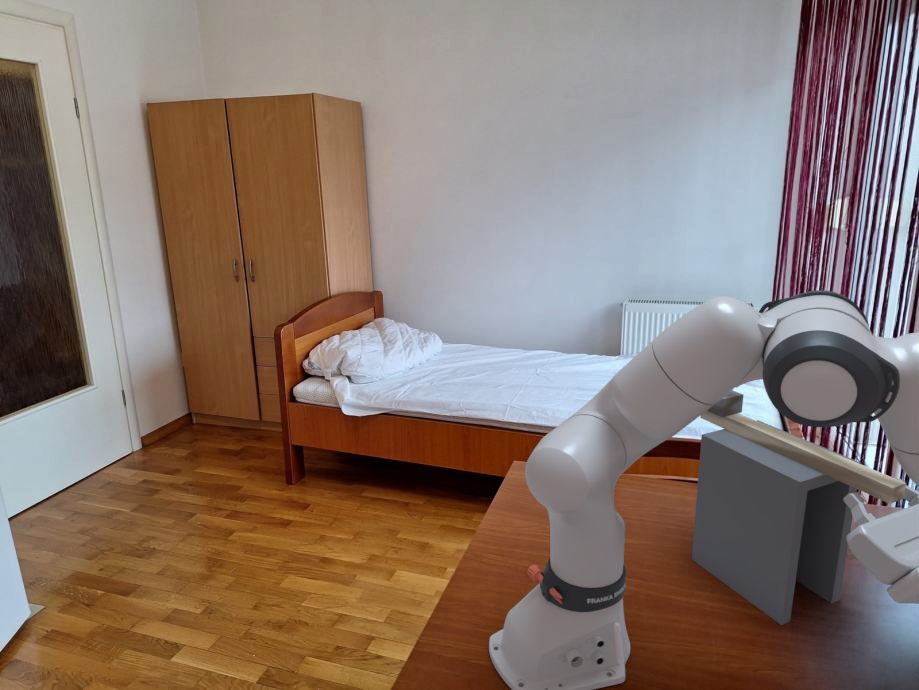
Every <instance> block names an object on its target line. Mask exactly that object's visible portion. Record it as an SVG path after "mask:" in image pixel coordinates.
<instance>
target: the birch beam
mask: <svg viewBox="0 0 919 690" xmlns="http://www.w3.org/2000/svg"><path fill="white" fill-rule="evenodd" d="M743 403H744V394H743V393H741V392H737V391H735V390H734V389H733V390H732V391H730V392H729V393H728V394H727V395H726V396H725V397H723V398H722V399H721V400H720V401H718V402H717V403H716V404H715V405H713V406H712V407H711V408H709V409H708V410H707V411H705V412H704V413H703V414H701V415H700V416H699V417H700V419H702V420H705V421H706V422H709V423H710V424H712V425H715V426H718V427H719V428H722V429H726V430H728V431H730V432H733V433H735V434H737V435H739V436H741V437H744V438H746V439H748V440H750V441H752V442H755V443H757V444H759V445H761V446H763V447H766V448H768V449H770V450H772V451H774V452H777V453H779V454H781V455H783V456H786V457H788V458H790V459H792V460H794V461H797V462H799V463H801V464H803V465H805V466H808V467H810V468H812V469H814V470H816V471H819V472H821V473H823V474H825V475H827V476H830V477H832V478H834V479H836V480H838V481H841V482H843V483H845V484H847V485H849V486H852V487H854V488H856V489H857V490H858V491H861V492H863V493H865V494H867V495H870V496H872V497H874V498H876V499H878V500H879V501H883V502H884V503H887V504H893V503H897V502H899V501H902V500H904V493H905V487H906V485H907V482H904V481H903V480H902V481H903V482H902V481H900V480H897V479H895V478H896V477H893V476H889V475H887V474H885V473H882V472H880V471H878V470H875V469H874V468H870V467H868V466H866V465H863V464H862V463H861V464H859V463H856V462H854V461H852V460H849V459H847V458H844V457H842V456H839V455H837V454H835V453H832V452H830V451H827V450H825V449H823V448H820V447H818V446H815V445H813V444H811V443H808V442H806V441H803V440H801V439H799V438H796V437H794V436H791V435H789V434H787V433H784V432H782V431H779V430H777V429H775V428H772V427H770V426H767V425H765V424H762V423H760V422H758V421H757V420H755V419H752V418H750V417H747V416H746V415H743V414H742V412H743Z"/></svg>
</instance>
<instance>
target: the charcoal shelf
mask: <svg viewBox="0 0 919 690" xmlns="http://www.w3.org/2000/svg"><path fill="white" fill-rule="evenodd" d="M756 421H758V422H760V423H762V424H765V425H767V426H770V427H772V428H775V429H777V430H779V431H782V432H784V433H787V434H789V435H791V436H794V437H796V438H799V439H801V440H803V441H806V442H808V443H811V444H813V445H815V446H818V447H820V448H823V449H825V450H827V451H830V452H832V453H835V454H837V455H839V456H842V457H844V458H847V459H849V460H852V461H854V462H856V463H859V464H861V465H862V462H860V461H858V460H855V459H853V458H850V457H847V456H846V455H843V454H841V453H838V452H835V451H833V450H831V449H829V448H826V447H824V446H821V445H819V444H818V443H814V442H812V441H809V440H807V439H805V438H802V437H800V436H797V435H795V434H792V433H790V432H788V431H785V430H783V429H780V428H777V427H775V426H773V425H770V424H769V423H766V422H763V421H761V420H756ZM700 439H701V440H700V452H699V465H698V476H697V477H698V478H697V487H696V501H695V502H696V503H695V511H694V512H695V513H694V529H693V540H692V549H691V550H692V551H691V560H692V561H693V562H695V563H696V564H697V565H699V566H700V567H701V568H702V569H704V570H705V571H707V572H708V573H709V574H711V575H712V576H713V577H715V578H716V579H718V580H719V581H720V582H722V584H725V585H726V586H728V588H730V589H732V590H733V591H734V592H735V593H737V594H738V595H740V596H741V597H742V598H744V600H746V601H748V602H749V603H750V604H752V606H755V607H756V608H757V609H758V610H760V611H761V612H762V613H764V614H765V615H767V616H768V617H769V618H771V619H772V620H774V621H775V622H777V623H778V624H779V625H780V626H783V625H785V624H787V623H790V622H791V617H792V610H793V603H794V595H795V587H796V582H797V583H799V584H800V585H803V586H804V587H805V588H807V589H808V590H810V591H812V592H813V593H815V594H816V595H818V596H819V597H820V598H822V599H823V600H826V601H827V602H829V603H830V604H834V603H835V602H839V601H840V597H841V592H842V585H843V579H844V573H845V568H846V567H845V566H846V559H847V554H848V548H849V547H848V544H847V539H846V536H847V535H848V534H849V533H850V532H851V529H852V523H853V516H852V513H851V509H850V508H849V507H848V506H847V504H846V503H845V502H844V500H843V499H844V497H845V496H847V495H848V494H850V493H853V492H857V490H858V489H856V488H854V487H852V486H849V485H847V484H845V483H843V482H841V481H838V480H836V479H834V478H832V477H830V476H827V475H825V474H823V473H821V472H819V471H816V470H814V469H812V468H810V467H808V466H805V465H803V464H801V463H799V462H797V461H794V460H792V459H790V458H788V457H786V456H783V455H781V454H779V453H777V452H774V451H772V450H770V449H768V448H766V447H763V446H761V445H759V444H757V443H755V442H752V441H750V440H748V439H746V438H744V437H741V436H739V435H737V434H735V433H733V432H730V431H728V430H726V429H724V428H722V429H718V430H714V431H711V432H707V433H703V434H701V437H700ZM857 493H858V492H857Z"/></svg>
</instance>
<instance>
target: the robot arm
mask: <svg viewBox="0 0 919 690" xmlns="http://www.w3.org/2000/svg"><path fill="white" fill-rule="evenodd" d="M759 380H762V382H763V386H764V390H765V392H766V395H767V397H768V399H769V400H770V402H771V404H772V405H773V407H774V408H775V410H777V412H779V413H780V414H781V415H782V416H783V417H785V418H786V419H787V420H790V421H791V422H793V423H796V424H798V425H801V426H806V427H812V428H834V427H840V426H844V425H849V424H851V423H871V422H874V421H875V420H877V421H878V422H879V424H880V425H881V429H882V431H883V433H884V434H885V438H886V439H887V441H888V444H889V446H890V448H891V450H892V452H893V454H894V457H895V458H896V460H897V462H898V464H899V466H901V468H902V470H903V471H904V472H905V474H906V475H907V476H908V478H909V479H910V480H911V482H913V483H914V484H915V485H916V486H918V487H919V331H918V332H912V333H906V334H903V335H900V336H897V337H882V336H878V335H873V333H872V330H871V329H870V324H869V321H868V318H867V316H866V315H865V313H864V311H863V310H862V309H861V308H860V307H859V306H858V305H857V303H855V302H854V301H853V300H852V299H850V298H849V297H847V296H845V295H843V294H840V293H838V292H835V291H832V290H822V289H821V290H820V289H819V290H811V291H805V292H802V293H799V294H796V295H793V296H790V297H785V298H780V299H777V300H772V301H768V302H765V303H764V304H763V305H762V306H761V308H760V309H759V310H757V309H755V308H754V307H753V306H752V305H750V304H749V303H747V302H746V301H743V300H741V299H740V298H739V299H738V298H737V297H735V296H729V295H728V296H727V295H721V296H720V295H718V296H715V297H712V298H709V299H707V300H706V301H704V302H703V303H700V304H699V305H697V306H696V307H694V308H693V309H691V310H689V311H687V313H685V314H683V315H682V316H681V317H680V318H678V319H677V320H675V321H674V322H672V324H670V325H669V326H667V327H666V328H665V329H664V330H663V331H662V332H660V333H659V334H658V335H657V336H656V337H655V338H653V340H651V341H650V342H649V343H648V344H647V345H646V346H645V347H644V348H643V349H642V350H641V351H640V352H638V353H637V354H636V355H635V356H634V357H633V358H632V359H631V360H629V361H628V363H627V364H625V365H624V366H623V367H622V368H621V369H620V370H619V371H617V372H616V373H615V374H614V375H613V376H612V378H611V379H610V380H609V381H608V382H607V383H606V384H605V385H604V387H602V388H601V389H600V390H599V391H598V392H597V393H596V394H595V395H594V396H593V397H592V398H591V399H590V400H589V401H588V402H587V403H586V404H585V405H584V406H582V407H581V408H580V409H578V411H575V413H573V414H572V415H570V416H569V417H568V418H567V419H565V420H564V421H563V422H562V423H560V424H559V425H558V426H557V427H556V426H555V428H553V429H552V430H551V431H550V432H548V433H547V434H545V436H543V437H542V438H541V439H540V441H539V442H538V443H537V445H536V446H535V448H534V449H533V450H532V452H531V454H530V455H529V457H528V458H527V461H526V464H525V468H524V470H525V471H524V474H525V475H524V476H525V481H526V484H527V487H528V489H529V491H530V493H531V494H532V496H533V497H534V499H535V500H537V502H538V503H540V505H542V506H543V507H545V508H546V510H547V516H548V520H549V527H550V529H549V531H550V533H549V535H550V537H549V542H550V543H549V545H550V547H549V549H550V551H549V552H550V553H549V555H550V556H549V558H548V561H547V563H546V565H545V567H544V569H543V570H541V568H540V567H539V565H537V564H531V565H530V566H529V567H528V569H527V572H526V573H527V575H528V577H529V578H531V579H532V581H533V582H534V583H538V584H537V585H536V586H535V587H533V588H532V589H531V590H530V591H529V592H528V593H527V594H526V595H525V596H524V597H523V598H522V599H521V600H520V601H519V602H517V603H516V604H515V605H514V607H512V608H511V609H510V610H509V611H508V612H507V615H506V617H505V621H504V625H503V628H502V629H501V630H500V629H499V630H498V631H496V632H495V633H493V634H492V635H490V636H489V641H488V652H489V656H490V660H491V662H492V665H493V667H494V668H495V670H496V671H497V673H498V675H499V676H500V677H501V678H502V680H503V681H504V683H505V684H506V685H507V686H508V687H509V688H510V689H511V690H596V689H597V690H598V689H601V688H605V687H611V686H615V685H619V684H622V683H624V682H625V681H626V664H627V661H628V659H629V657H630V654H631V642H630V639H629V638H630V637H629V634H628V631H627V627H626V621H625V614H624V613H625V612H624V596H625V593H626V586H627V585H626V584H627V583H626V582H627V579H626V578H627V574H626V572H627V571H626V565H625V563H624V558H625V557H624V556H625V539H626V538H625V537H626V536H625V535H626V525H625V522H624V520H623V517H622V516H621V514H620V513H619V512H618V511H616V506H615V502H614V501H615V498H614V497H615V496H614V495H615V488H616V485H617V483H618V480H619V478H620V477H621V476H622V475H623V474H624V473H625V472H626V471H627V470H628V469H629V468H630V467H631V466H632V465H633V464H634V463H635V462H636V461H638V460H639V459H640V458H642V457H643V456H644V455H645V454H647V453H648V452H650V451H652V450H653V449H654V448H656V447H657V446H659V445H660V444H662V443H664V442H666V441H667V440H670V439H671V438H673V437H674V436H676V435H677V434H678V433H679V432H681V431H682V430H683V429H685V428H686V427H688V426H689V425H690V424H692V422H694V421H695V420H697V418H699V417H700V415H701V414H703V413H704V412H705V411H707V410H708V409H709V408H711V407H712V406H713V405H715V404H716V403H717V402H718V401H720V400H721V399H722V398H723V397H725V396H726V395H727V394H728V393H729V392H730V391H732V390H733V391H734V389H736V388H739V387H740V386H742V385H745V384H747V383H750V382H754V381H759ZM873 414H874V415H873ZM872 415H873V416H872ZM894 478H895V479H897V480H900V481H902V482H904V481H903V480H902V478H900V477H894ZM860 494H861V493H859V492H853V493H850V494H848V495H847V496H845V497H844V499H843V500H844V502H845V503H846V504H847V506H848V507H849V508H850V509H851V513H852V516H853V517H852V520H853V521H854V524H855V525H856V527H855V528H854V529H853V530H852V531H850V533H849V534H848V535H847V536H846V539H847V544H848V548H849V550H850V551H851V552H852V554H853V555H854V556H855V557H856V558H857V560H858V561H859V562H860V563H861V564H862V565H863V567H864V568H865V569H866V570H867V571H868V572H869V573H870V574H871V576H873V577H874V578H875V579H876V580H877V581H879V582H880V583H882V584H884V585H886V586H889V587H887V588H886V592H887V593H888V596H890V598H891V599H892V601H894V602H896V603H897V604H917V605H918V604H919V490H916V489H914V488H912V487H910V486H909V485H907V484H906V487H905V493H904V498H903V500H906V501H907V502H908V503H907V505H908V507H905V508H903V509H900V510H897V511H895V512H892V513H890V514H887V515H884V516H881V517H878V518H876V517H875V516H874V515H873V514H872V513H871V512H869V513H868V512H867V510H866V507H865V506H864V502H866V500H865V498H863V496H861V495H860Z"/></svg>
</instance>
